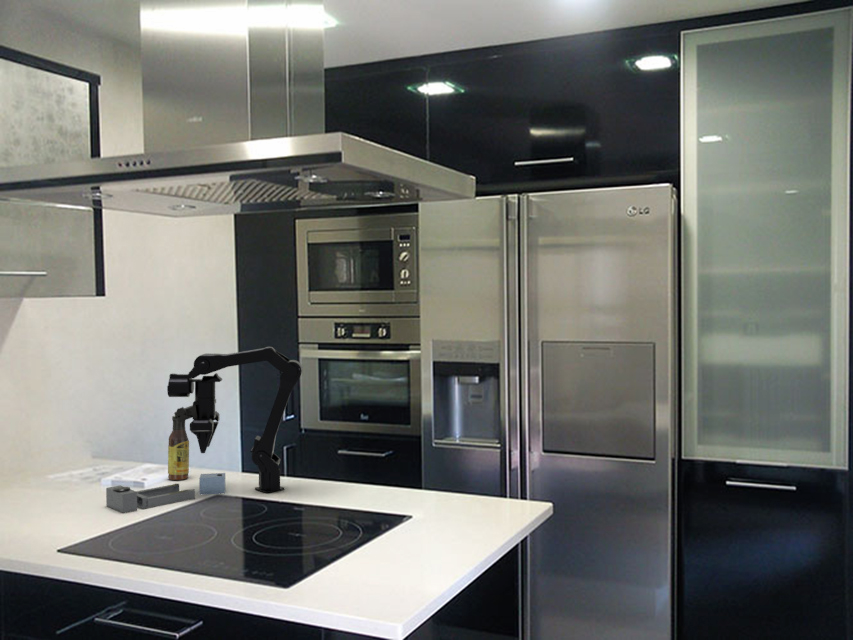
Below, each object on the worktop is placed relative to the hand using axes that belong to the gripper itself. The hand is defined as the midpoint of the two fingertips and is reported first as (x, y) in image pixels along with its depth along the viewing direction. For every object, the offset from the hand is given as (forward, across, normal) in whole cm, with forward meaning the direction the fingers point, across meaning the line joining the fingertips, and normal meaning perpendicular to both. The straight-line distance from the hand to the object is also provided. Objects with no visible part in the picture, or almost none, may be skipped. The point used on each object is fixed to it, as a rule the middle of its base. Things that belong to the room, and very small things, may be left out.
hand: (205, 449), depth 232 cm
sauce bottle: (+13, -17, -10) cm, 24 cm away
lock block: (+12, +1, +2) cm, 13 cm away
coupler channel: (+12, +10, -13) cm, 21 cm away
